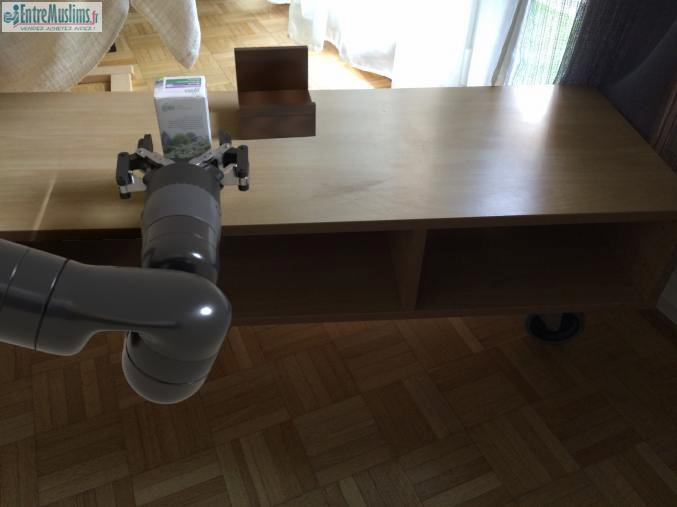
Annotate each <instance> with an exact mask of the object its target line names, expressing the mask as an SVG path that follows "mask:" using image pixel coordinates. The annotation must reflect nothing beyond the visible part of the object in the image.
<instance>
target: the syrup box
mask: <svg viewBox="0 0 677 507" xmlns="http://www.w3.org/2000/svg"><path fill="white" fill-rule="evenodd" d="M152 96H153V103H154V108H155V114H156V119H157V126H158V131H159V138H160V144H161V150H162V156H163V157H165V158H166V159H169V158H188V157H199V156H201V155H202V154H203V153H205V152H206V151H208V150H209V149H213V142H212V133H211V132H212V131H211V123H210V111H209V100H208V92H207V82H206V77H205V76H204V75H185V76H184V75H182V76H163V77H162V76H159V77H158V76H157V77H156V78H155V83H154V88H153V95H152Z"/></svg>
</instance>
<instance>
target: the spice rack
mask: <svg viewBox="0 0 677 507" xmlns="http://www.w3.org/2000/svg"><path fill="white" fill-rule="evenodd" d="M233 56H234V66H235V81H236V93H237V106H238V117H239V118H238V119H239V129H240V139H241V140H242V141H244V140H245V141H246V140H260V139H262V140H263V139H264V140H265V139H278V138H279V139H282V138H298V137H300V138H301V137H315V136H316V135H317V104H316V102H315V101H312V97H311V94H310V91H309V47H308V45H306V44H305V45H279V46H276V45H275V46H245V47H233Z"/></svg>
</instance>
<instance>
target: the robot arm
mask: <svg viewBox="0 0 677 507" xmlns="http://www.w3.org/2000/svg"><path fill="white" fill-rule="evenodd" d="M218 144H219V145H218V147H217V148H212V149H209V150H208V151H206V152H205V153H203V154H202V155H201V156H199V157H188V158H169V159H166V158H165V157H164V156H163V154H160V153H158V152H157V151H154V149H155V148H154V142H153V137H152V133H145V134H144V135H143V138H141V137H140V138H139V139H138V141H137V146H136V149H135V150H134V152H133V153H130V152H128V151H121V152H119V153H118V154H117V157H116V158H117V159H116V167H115V168H116V169H115V182H116V186H117V190H118V195H119V198H120V199H121V200H129V199H131V198H132V196H133V193H135V192H144V194H145V195H144V202H143V209H142V211H141V214H140V221H141V225H140V234H141V235H140V236H141V246H140V251H139V252H140V253H139V261H138V266H137V267H136V266H135V267H133V266H120V265H98V264H97V265H95V264H87V263H83V262H79V261H76V260H73V259H69V258H67V257H63V256H60V255H57V254H54V253H50V252H48V251H45V250H40V249H37V248H34V247H31V246H27V245H23V244H20V243H16V242H14V241H11V240H7V239H4V238H1V237H0V342H2V343H3V342H4V343H7V344H10V345H15V346H19V347H22V348H26V349H30V350H36V351H38V352H42V353H46V354H51V355H57V356H62V357H64V356H65V357H69V356H75V355H77V354H80V353H81V352H82V351H83V350H84V349H85V348H86V347H87V346H88V345H89V343H90V341H91V340H92V339H93V337H94V336H95V335H96V334H98V333H100V332H125V334H124V340H123V345H122V350H121V367H122V371H123V373H124V378H125V379H126V381H127V383H128V384H129V385H130V388H131V389H133V391H134V392H135V393H137V395H139V396H140V397H142V398H143V399H145V400H147V401H149V402H152V403H155V404H163V405H170V404H171V405H172V404H176V403H177V404H178V403H180V402H182V401H185V400H187V399H188V398H190V397H191V396H193V395H195V394H196V393H197V392H198V391H199V390H200V389H201V388H202V386H203V385H204V384H205V382H206V381H207V380H208V377H209V375H210V373H211V371H212V369H213V366H214V364H215V363H216V360H217V359H218V356H219V354H220V352H221V349H222V347H223V345H224V344H225V342H226V339H227V337H228V335H229V333H230V330H231V329H232V324H233V320H234V312H233V311H234V310H233V307H232V303H231V302H230V299H229V298H228V296H227V295H226V294H225V293H224V291H223V290H222V289H221V288H219V287H218V286H217V285H218V281H219V277H220V267H221V266H220V264H221V262H220V242H221V238H222V211H221V208H222V207H221V206H222V205H221V191H222V190H223V189H224V188H225V186H237V189H238V191H240V192H247V191H249V190H250V161H249V160H250V159H249V146H248V145H246V144H240V145H238V146H237V147H234V146H233V142H232V135H231V134H230V133H226V130H225V129H219V130H218ZM230 168H231V169H230ZM228 170H229V171H228ZM134 171H138V172H140V173H142V174H143V177H142V178H138V176H137V174H134ZM226 171H228V172H227V173H225V172H226Z"/></svg>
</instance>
